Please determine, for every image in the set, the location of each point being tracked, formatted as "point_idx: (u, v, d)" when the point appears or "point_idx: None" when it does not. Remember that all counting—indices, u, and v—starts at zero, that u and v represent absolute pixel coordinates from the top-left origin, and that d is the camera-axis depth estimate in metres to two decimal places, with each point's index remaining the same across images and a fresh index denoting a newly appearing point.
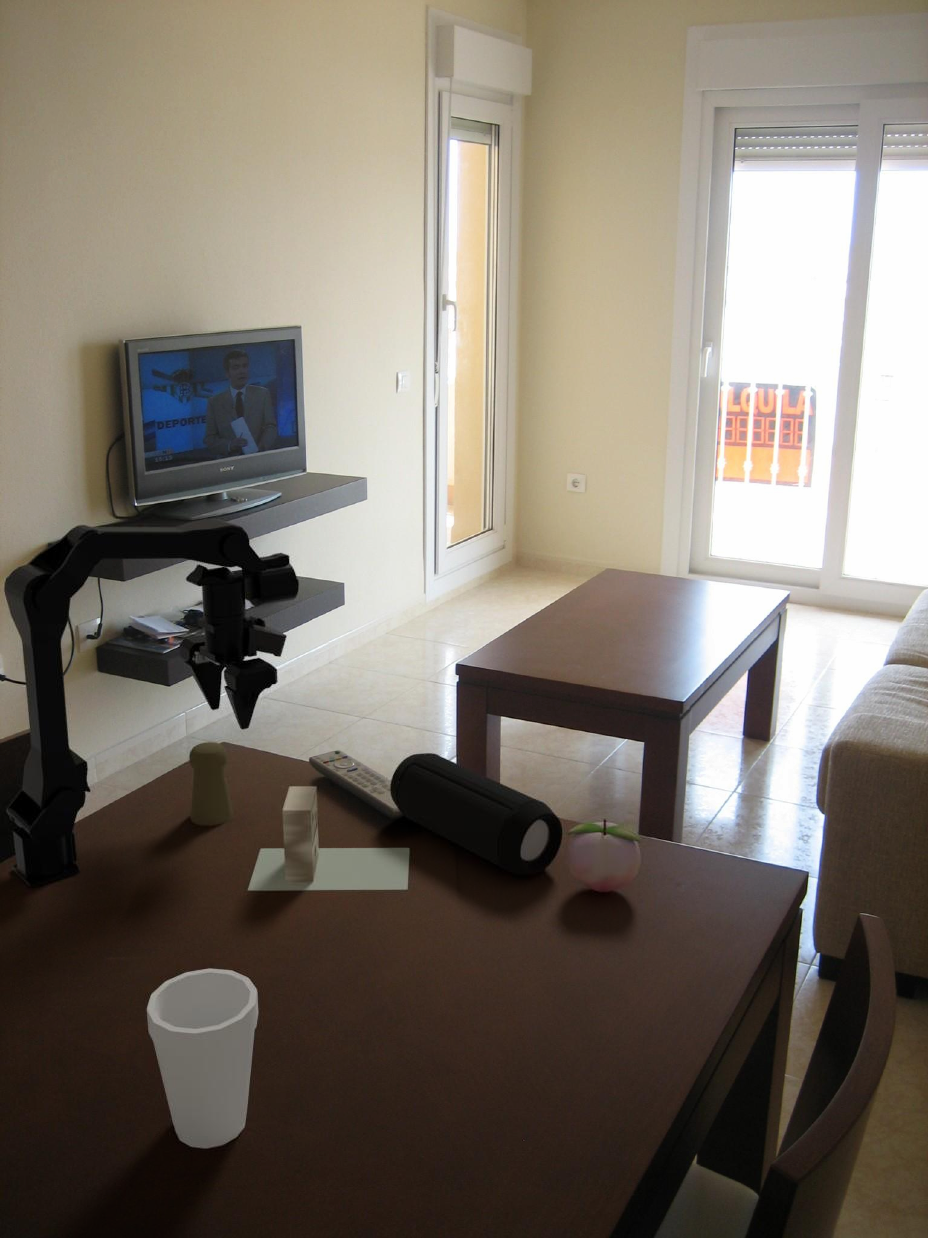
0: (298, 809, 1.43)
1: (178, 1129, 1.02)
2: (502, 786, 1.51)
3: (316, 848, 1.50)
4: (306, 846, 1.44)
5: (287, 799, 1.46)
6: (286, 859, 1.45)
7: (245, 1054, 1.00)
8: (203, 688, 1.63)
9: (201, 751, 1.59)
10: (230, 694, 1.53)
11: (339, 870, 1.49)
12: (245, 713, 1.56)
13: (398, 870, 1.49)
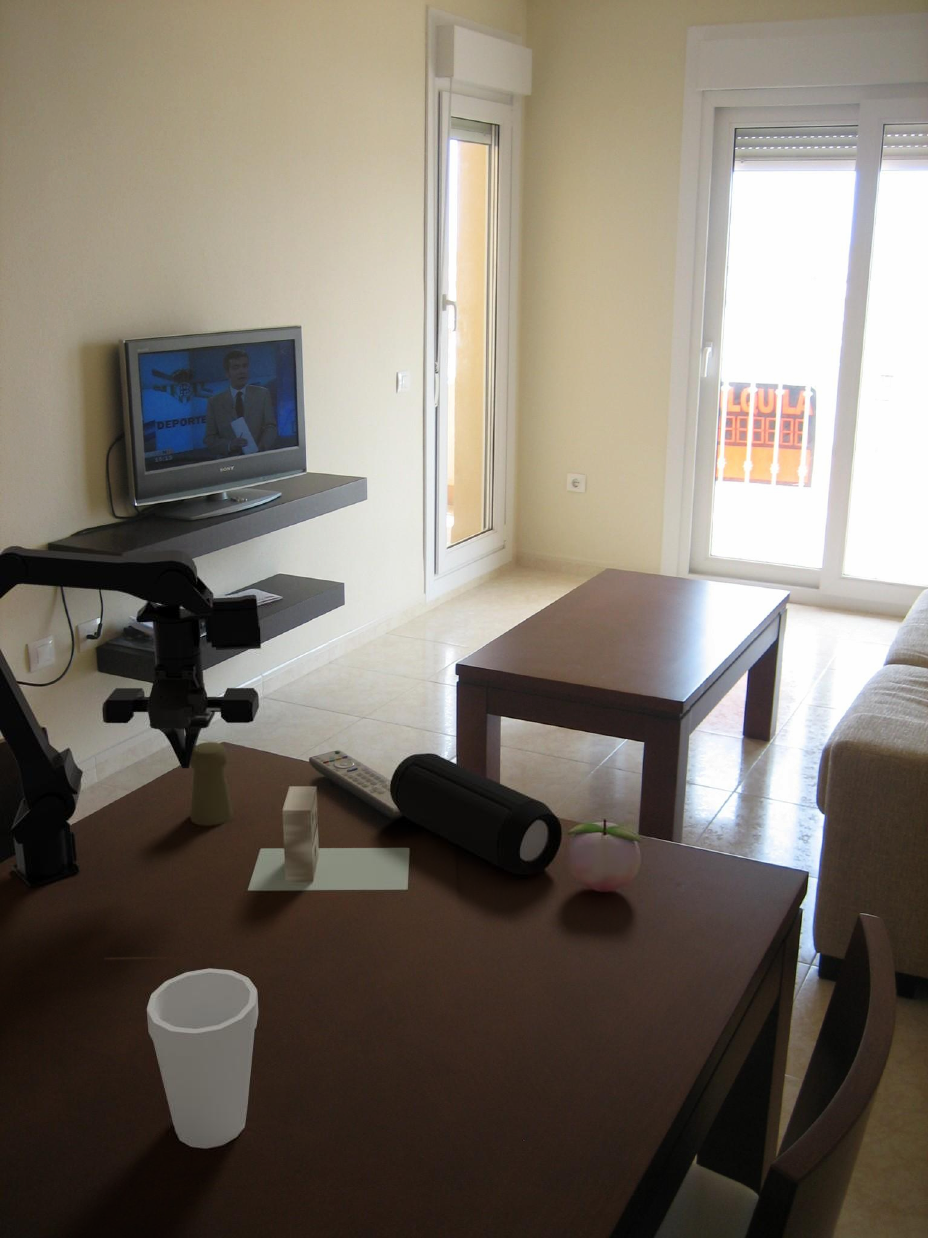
0: (298, 809, 1.43)
1: (178, 1129, 1.02)
2: (502, 786, 1.51)
3: (316, 848, 1.50)
4: (306, 846, 1.44)
5: (287, 799, 1.46)
6: (286, 859, 1.45)
7: (245, 1054, 1.00)
8: None
9: (201, 752, 1.59)
10: None
11: (339, 870, 1.49)
12: None
13: (398, 870, 1.49)
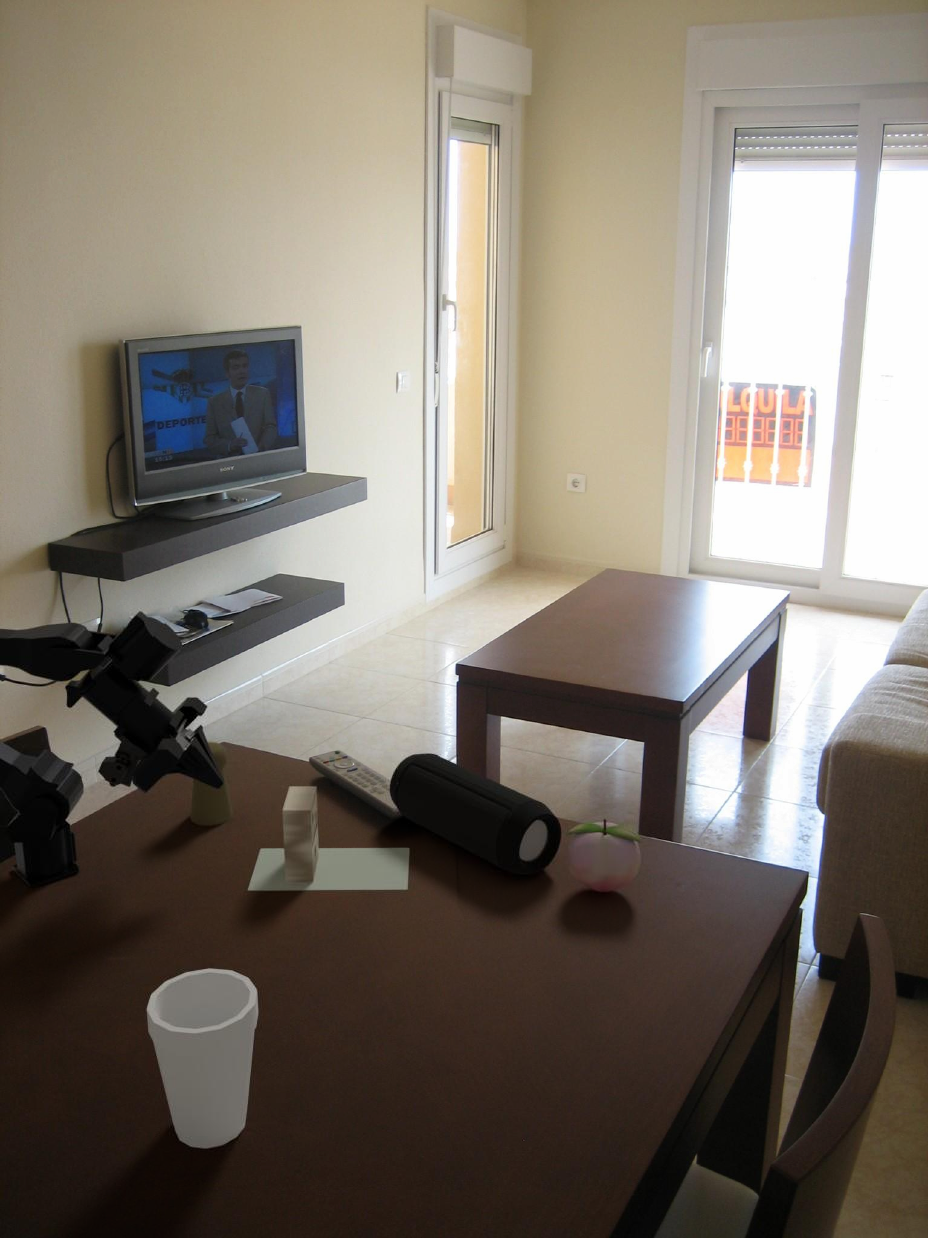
0: (298, 809, 1.43)
1: (178, 1129, 1.02)
2: (501, 786, 1.51)
3: (316, 848, 1.50)
4: (306, 846, 1.44)
5: (287, 799, 1.46)
6: (286, 859, 1.45)
7: (245, 1054, 1.00)
8: None
9: None
10: (203, 733, 1.46)
11: (339, 870, 1.49)
12: None
13: (398, 870, 1.49)
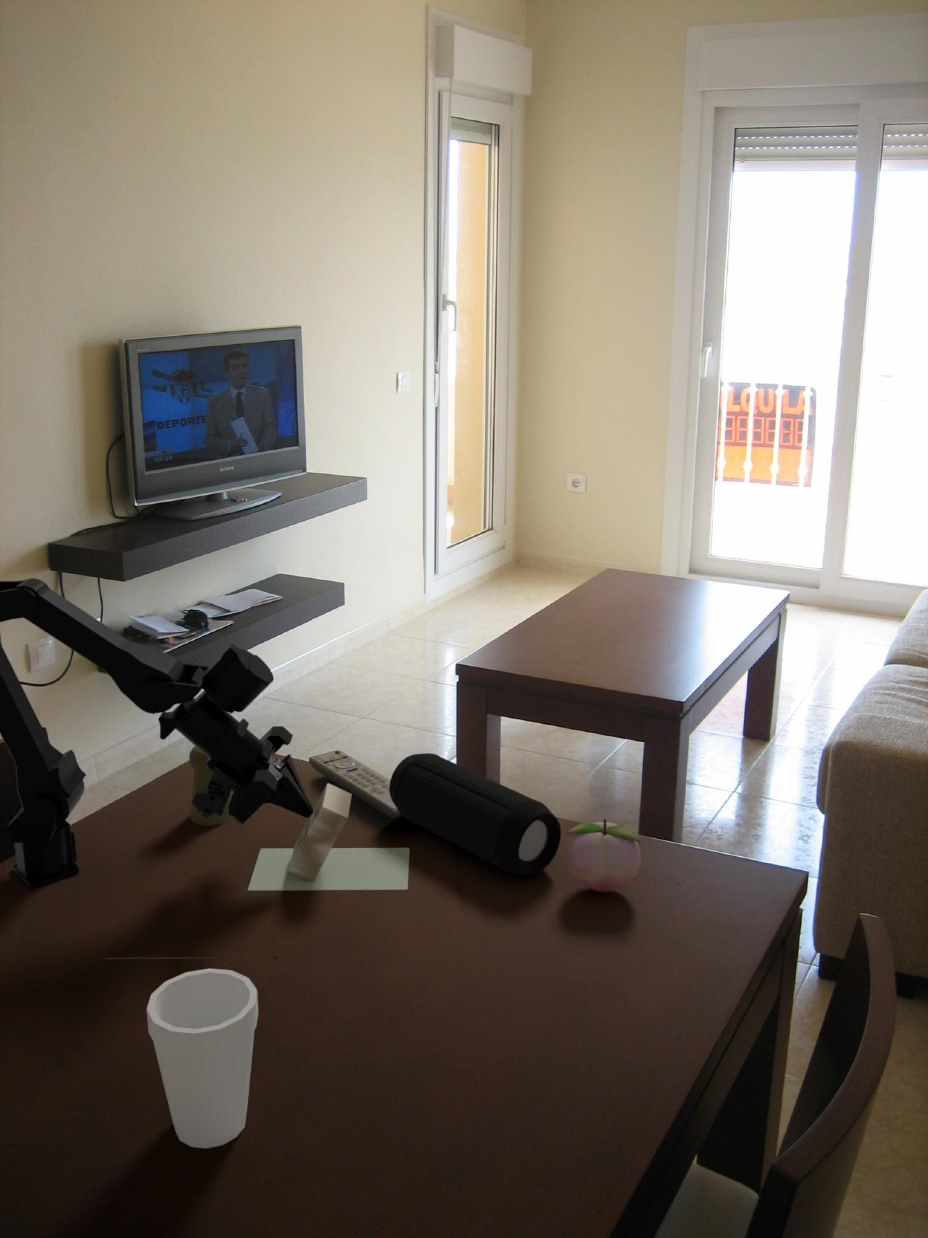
0: (336, 812, 1.43)
1: (178, 1129, 1.02)
2: (501, 786, 1.51)
3: None
4: (325, 848, 1.44)
5: (326, 796, 1.46)
6: (300, 851, 1.44)
7: (245, 1054, 1.00)
8: None
9: (201, 751, 1.59)
10: (291, 763, 1.47)
11: (339, 870, 1.49)
12: None
13: (398, 870, 1.49)
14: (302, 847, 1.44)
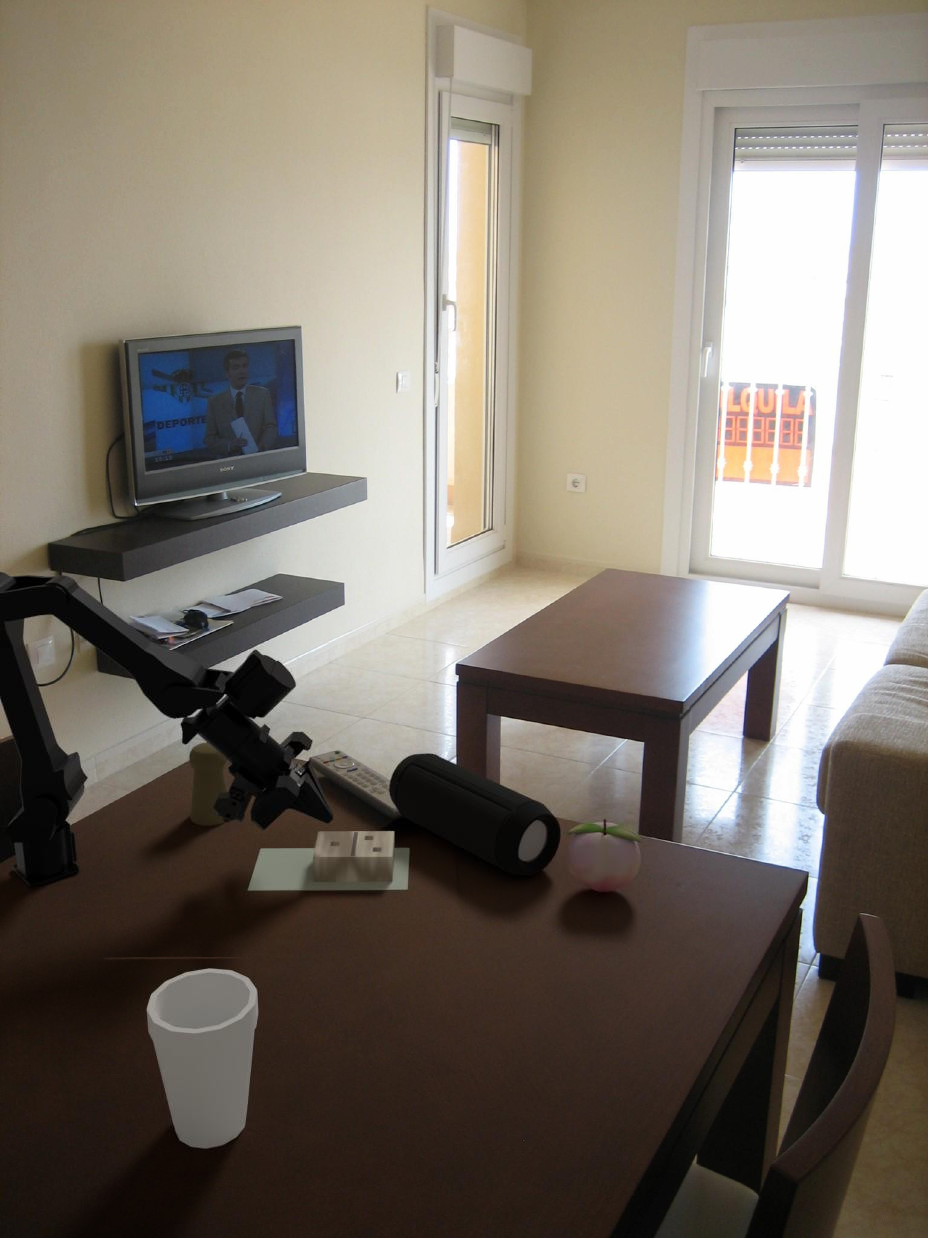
0: (392, 870, 1.46)
1: (178, 1129, 1.02)
2: (500, 786, 1.51)
3: None
4: (353, 876, 1.46)
5: (393, 846, 1.48)
6: (338, 858, 1.45)
7: (245, 1054, 1.00)
8: None
9: (201, 752, 1.59)
10: (312, 768, 1.47)
11: None
12: None
13: (398, 870, 1.49)
14: (342, 858, 1.45)
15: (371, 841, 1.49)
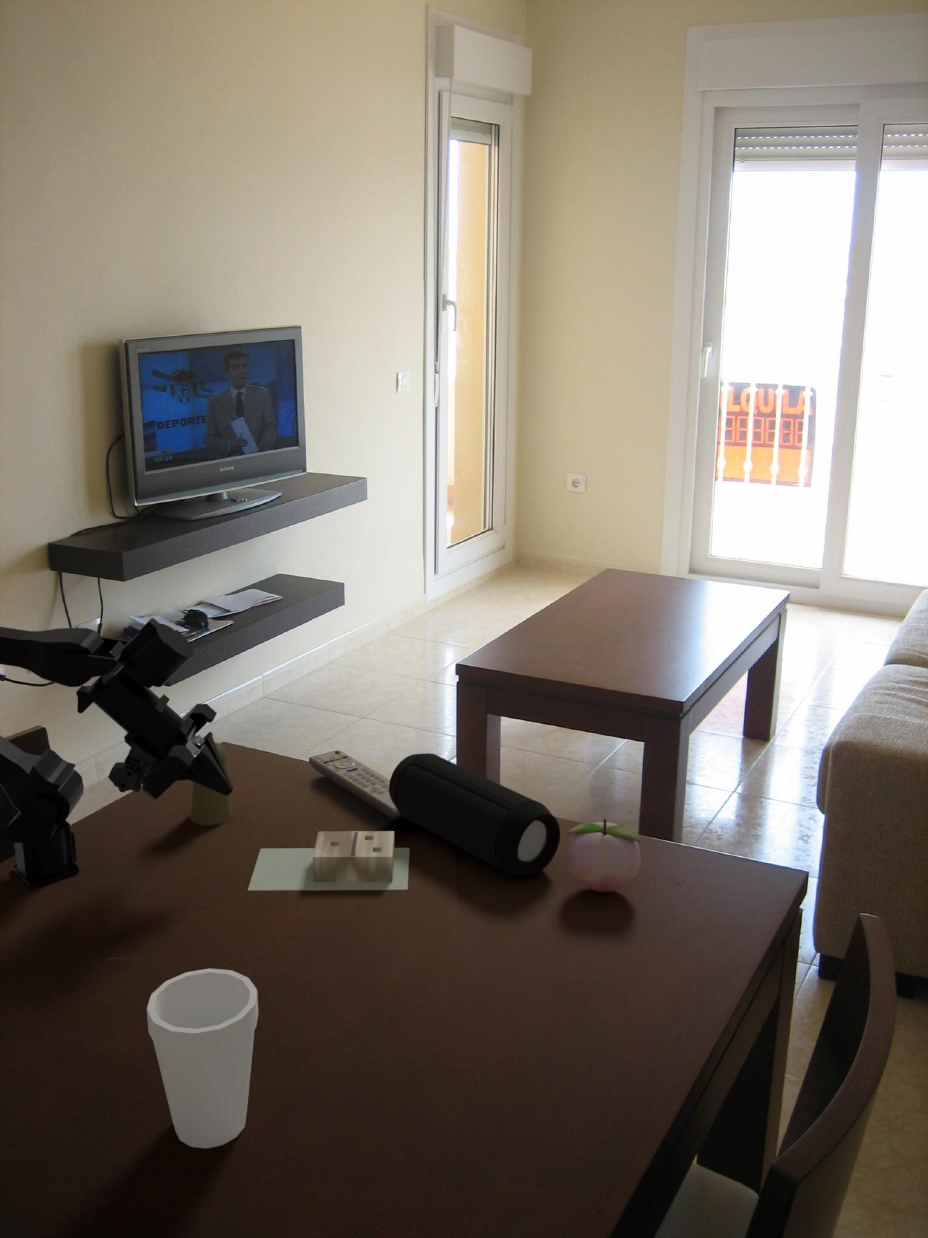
0: (392, 870, 1.46)
1: (178, 1129, 1.02)
2: (500, 787, 1.51)
3: None
4: (353, 876, 1.46)
5: (393, 846, 1.48)
6: (338, 858, 1.45)
7: (245, 1054, 1.00)
8: None
9: None
10: (212, 740, 1.46)
11: None
12: None
13: (398, 870, 1.49)
14: (342, 858, 1.45)
15: (371, 841, 1.49)
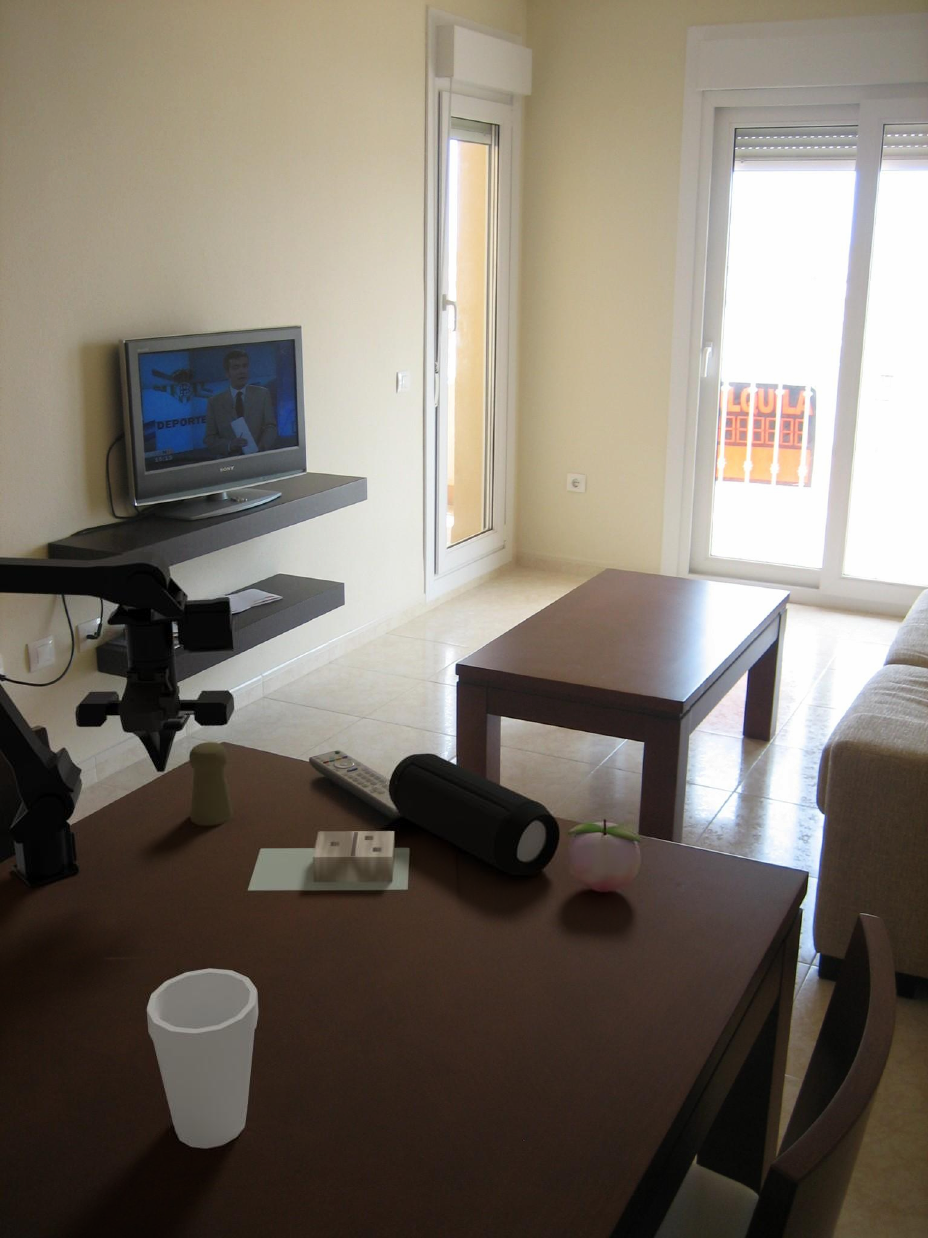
0: (392, 870, 1.46)
1: (178, 1129, 1.02)
2: (500, 787, 1.51)
3: None
4: (353, 876, 1.46)
5: (393, 846, 1.48)
6: (338, 858, 1.45)
7: (245, 1054, 1.00)
8: None
9: (201, 751, 1.59)
10: None
11: None
12: None
13: (398, 870, 1.49)
14: (342, 858, 1.45)
15: (371, 841, 1.49)
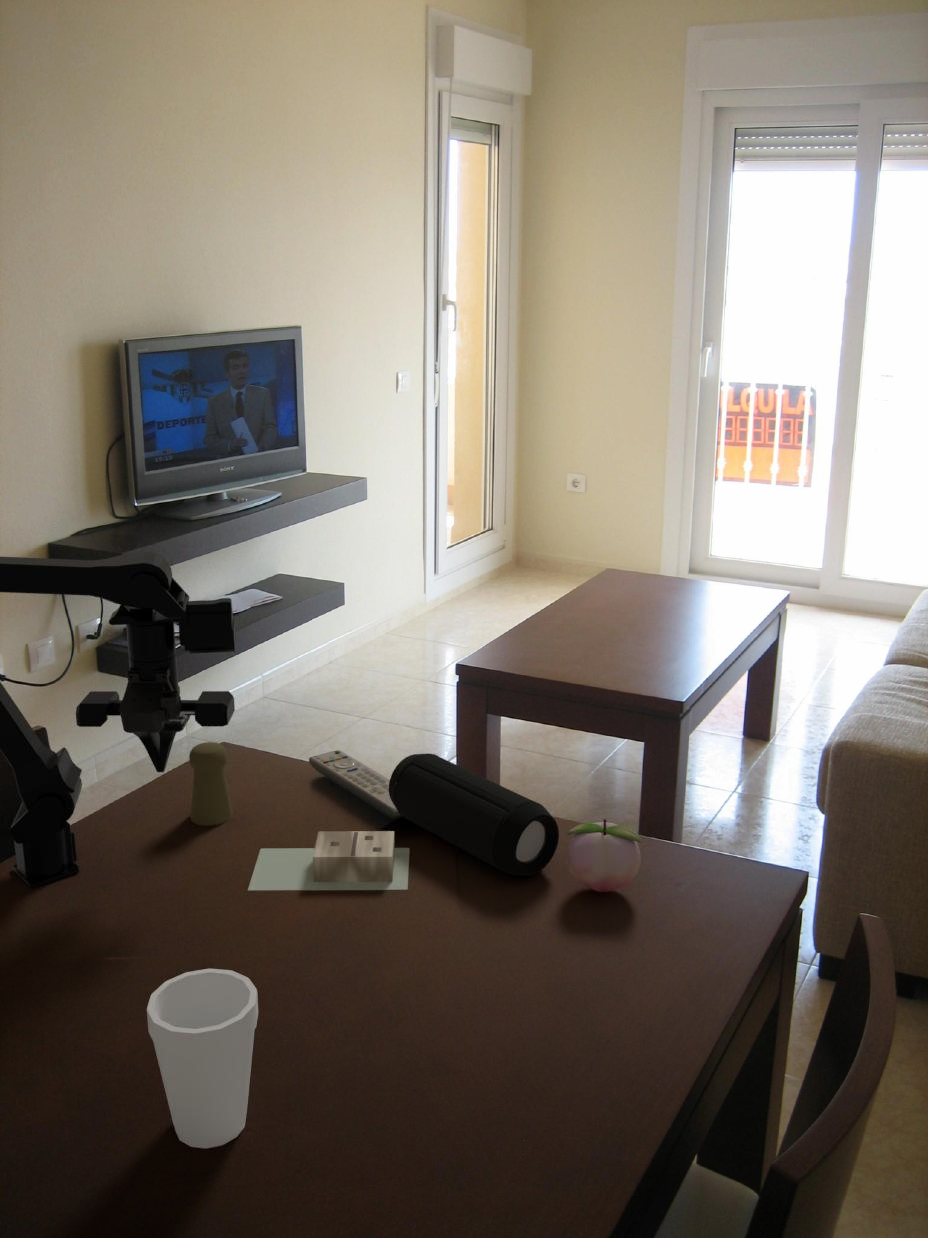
0: (392, 870, 1.46)
1: (178, 1129, 1.02)
2: (499, 787, 1.51)
3: None
4: (353, 876, 1.46)
5: (393, 846, 1.48)
6: (338, 858, 1.45)
7: (245, 1054, 1.00)
8: None
9: (201, 751, 1.59)
10: None
11: None
12: None
13: (398, 870, 1.49)
14: (342, 858, 1.45)
15: (371, 841, 1.49)
